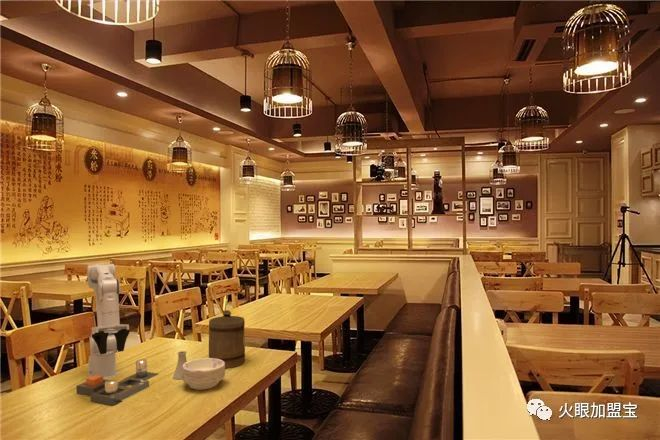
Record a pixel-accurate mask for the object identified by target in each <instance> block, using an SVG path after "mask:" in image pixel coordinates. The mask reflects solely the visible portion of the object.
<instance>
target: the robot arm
mask: <svg viewBox="0 0 660 440" xmlns="http://www.w3.org/2000/svg"><path fill="white" fill-rule="evenodd" d="M86 274H87V275H86V276H87V277H86V278H87V285H88V288H89V289H92V290H93V292H94V295H95V307H96V321H97V323H96V324H97V326H93V327H91V334H90V338H89V339H90V340H89V341H90V342H89V343H90V344H89V347H90V355H89V357H88V363H87V365H88V366H87V367H88V375H86V378H89V377H91V376H94V375H99V376H103V379H107V380H108V378H110V377H113V376H116V375H118V374H121V371H116V369H117V367H116V365H117V364H116V353H118V352H125V345H126V342H127V339H128V338H129V337H128V336H129V334H130V333H131V330H130V325H129V323H128V324H122V323H121V322H120V319H121V318H120V305H119V304H120V302H119V295H120V292H121V291H120V290H121V286H120V280H119V278H115V277H116V266H115V264H114V263H108V264H107V263H106V264H93V265H92V264H88V265H87V266H86ZM120 323H121V324H120Z"/></svg>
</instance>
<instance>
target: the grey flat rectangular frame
mask: <svg viewBox="0 0 660 440" xmlns="http://www.w3.org/2000/svg"><path fill="white" fill-rule="evenodd" d="M125 378H126V379H124V378H123V379H121V380H118V393H117V394H115V395H113V396H107V395H105V388H103V389H101V390H99V391H96V392H94V393H92V394H91V397H90V402H92V403H97V404H103V405H107V406H111V407H112V406H116V405H118V404H120V403H121V402H123V400H124V399H125V400H126V399H127V398H129V397H131V396H133V395H135V394H137V393H138V392H141V391H144V390H146V389H147V388H149V387H150V380H139V379H133V378H127V377H125ZM128 386H129V387H128Z"/></svg>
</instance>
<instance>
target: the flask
mask: <svg viewBox="0 0 660 440" xmlns="http://www.w3.org/2000/svg"><path fill="white" fill-rule="evenodd" d="M186 355H187V350H181V351H180V350H179V351H178V352H177V358H178V359H177V365H176V366H175V371H174V373H173V377H172V380H175V381H183V380H182V366H183V364H184V363H186V362H188V361H187V356H186Z"/></svg>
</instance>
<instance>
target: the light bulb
mask: <svg viewBox="0 0 660 440" xmlns="http://www.w3.org/2000/svg"><path fill="white" fill-rule="evenodd" d="M107 380H108V381H106V382H105V395H107V396H113V395H115V394H117V393H118V382H119V380H118V379H107Z"/></svg>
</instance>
